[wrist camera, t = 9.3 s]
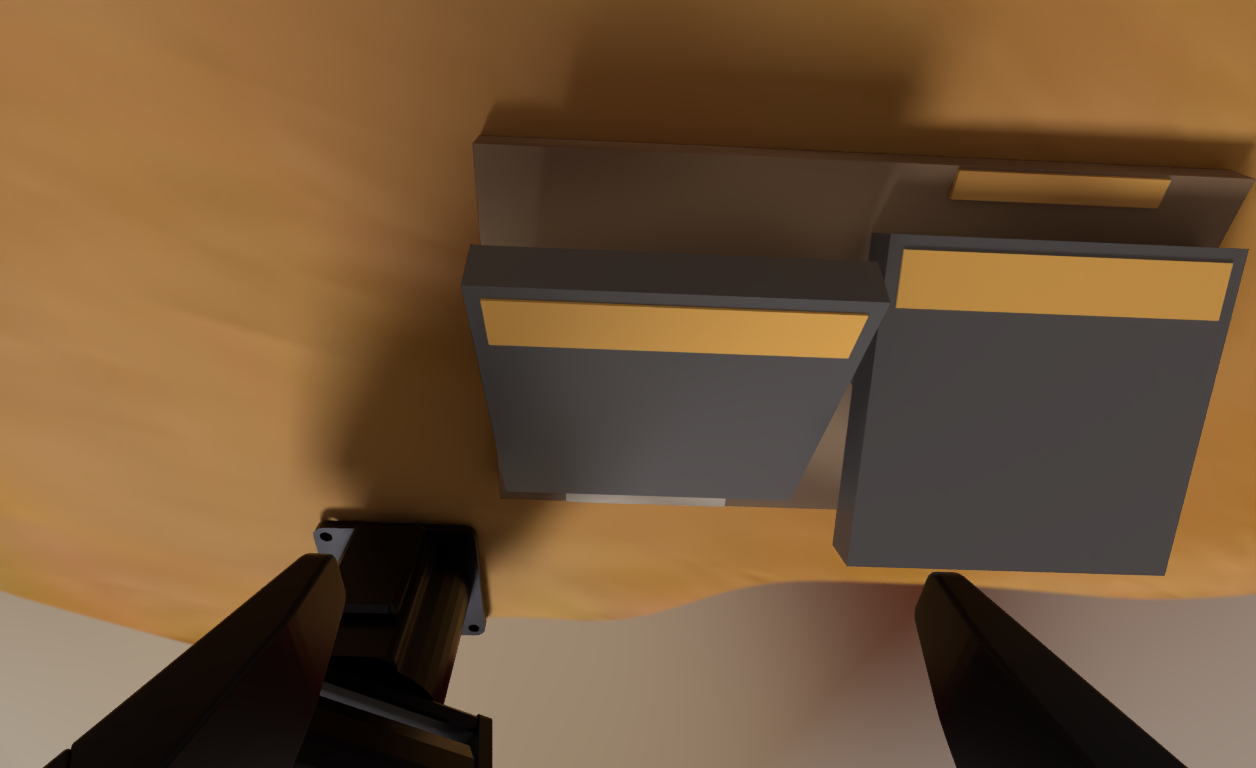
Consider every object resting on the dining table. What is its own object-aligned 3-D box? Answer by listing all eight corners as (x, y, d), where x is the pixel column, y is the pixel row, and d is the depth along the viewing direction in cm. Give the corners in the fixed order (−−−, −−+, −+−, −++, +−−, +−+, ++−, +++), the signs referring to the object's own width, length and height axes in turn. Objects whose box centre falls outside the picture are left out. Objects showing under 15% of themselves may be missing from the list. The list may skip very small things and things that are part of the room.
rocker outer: (1130, 553, 22) (1166, 576, 21) (832, 544, 22) (847, 567, 20) (1205, 247, 20) (1250, 249, 18) (871, 233, 19) (891, 233, 18)
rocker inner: (784, 466, 24) (789, 502, 23) (511, 457, 24) (505, 493, 23) (878, 261, 16) (891, 304, 16) (470, 244, 16) (460, 287, 15)
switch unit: (1056, 499, 27) (1088, 539, 25) (504, 481, 26) (495, 521, 24) (1228, 169, 20) (1291, 191, 18) (479, 135, 19) (463, 154, 17)
